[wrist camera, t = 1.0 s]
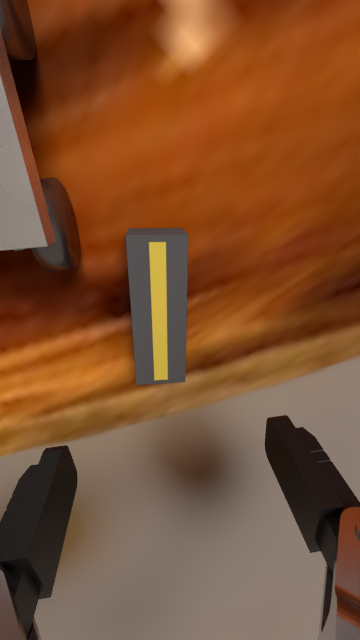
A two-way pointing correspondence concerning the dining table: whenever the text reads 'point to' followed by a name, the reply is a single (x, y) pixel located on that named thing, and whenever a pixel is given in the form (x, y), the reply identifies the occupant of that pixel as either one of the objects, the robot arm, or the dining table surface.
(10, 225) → the trolley
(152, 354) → the block
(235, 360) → the dining table surface
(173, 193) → the dining table surface
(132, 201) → the dining table surface
